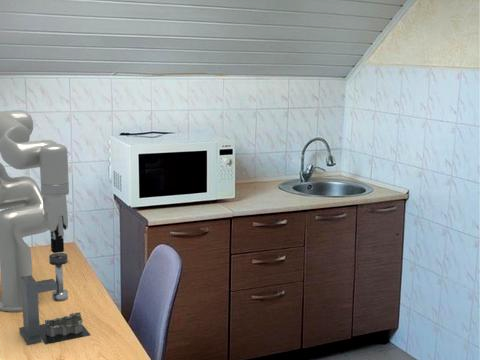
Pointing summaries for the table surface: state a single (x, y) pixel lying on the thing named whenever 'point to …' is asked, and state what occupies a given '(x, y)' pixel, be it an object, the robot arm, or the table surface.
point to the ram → (59, 276)
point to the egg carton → (64, 325)
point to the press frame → (31, 313)
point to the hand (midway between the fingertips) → (57, 251)
